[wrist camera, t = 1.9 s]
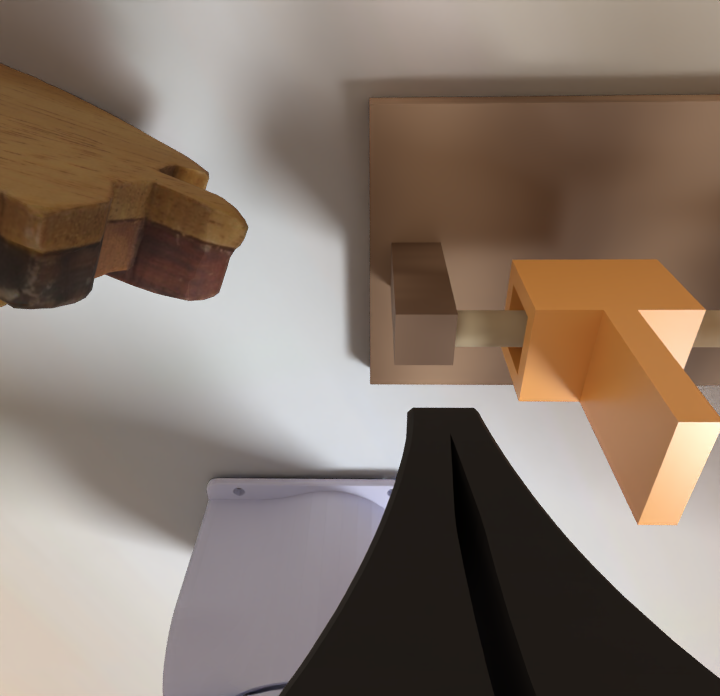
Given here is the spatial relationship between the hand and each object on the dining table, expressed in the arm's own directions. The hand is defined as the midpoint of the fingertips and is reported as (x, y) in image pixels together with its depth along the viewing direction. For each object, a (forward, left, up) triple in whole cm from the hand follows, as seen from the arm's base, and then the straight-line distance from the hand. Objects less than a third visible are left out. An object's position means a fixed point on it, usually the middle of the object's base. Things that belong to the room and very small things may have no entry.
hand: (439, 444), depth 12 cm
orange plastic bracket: (+5, 0, -6) cm, 7 cm away
